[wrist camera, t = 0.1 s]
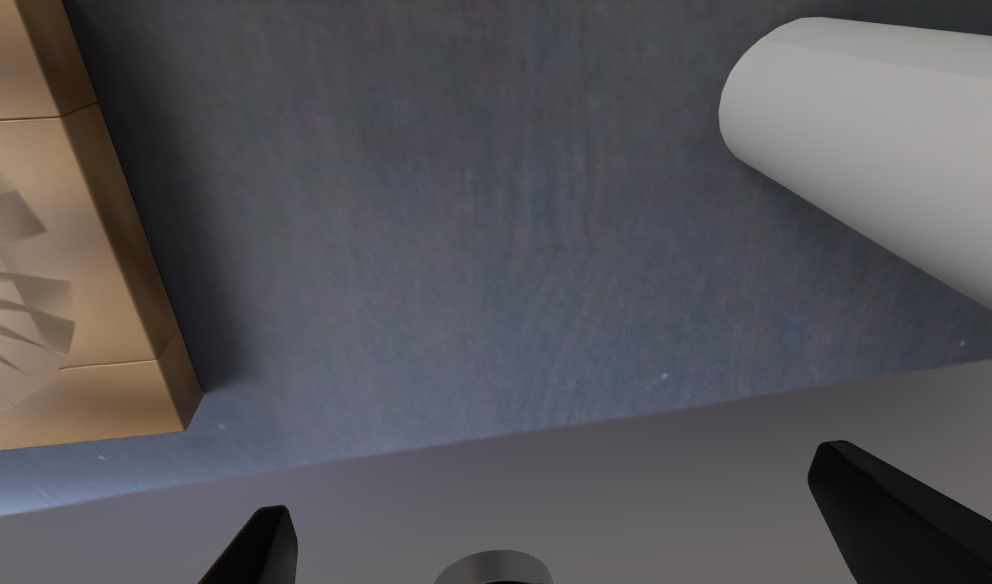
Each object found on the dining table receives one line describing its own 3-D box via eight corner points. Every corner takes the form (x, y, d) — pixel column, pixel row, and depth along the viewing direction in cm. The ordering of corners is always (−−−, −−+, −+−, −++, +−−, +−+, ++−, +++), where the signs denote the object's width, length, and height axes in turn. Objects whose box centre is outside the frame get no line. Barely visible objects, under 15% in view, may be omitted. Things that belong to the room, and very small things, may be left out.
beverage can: (839, 154, 20) (1293, 349, 10) (707, 178, 20) (1026, 404, 10) (863, 3, 18) (1504, 48, 7) (714, 29, 17) (1151, 113, 7)
